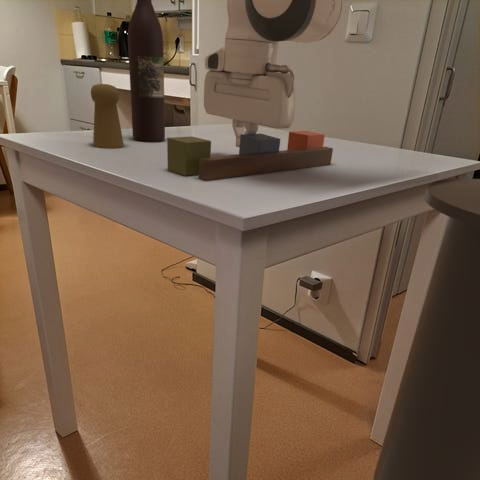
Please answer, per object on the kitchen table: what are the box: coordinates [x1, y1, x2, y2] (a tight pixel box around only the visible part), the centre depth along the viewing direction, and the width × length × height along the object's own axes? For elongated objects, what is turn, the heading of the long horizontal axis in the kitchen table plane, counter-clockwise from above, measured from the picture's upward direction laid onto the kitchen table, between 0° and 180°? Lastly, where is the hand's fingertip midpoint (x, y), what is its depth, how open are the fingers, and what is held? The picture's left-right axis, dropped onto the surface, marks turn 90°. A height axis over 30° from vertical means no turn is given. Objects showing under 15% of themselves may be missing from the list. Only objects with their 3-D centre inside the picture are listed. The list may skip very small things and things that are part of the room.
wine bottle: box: [127, 0, 166, 143], centre depth 94 cm, size 7×7×30 cm
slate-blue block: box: [238, 133, 281, 155], centre depth 81 cm, size 5×5×5 cm
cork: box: [90, 83, 125, 149], centre depth 89 cm, size 6×6×11 cm
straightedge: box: [198, 146, 334, 182], centre depth 79 cm, size 2×31×3 cm, turn 132°
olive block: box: [166, 135, 212, 177], centre depth 74 cm, size 5×5×5 cm
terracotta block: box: [286, 130, 326, 150], centre depth 90 cm, size 5×5×5 cm
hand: (243, 148), depth 84 cm, fingers closed
